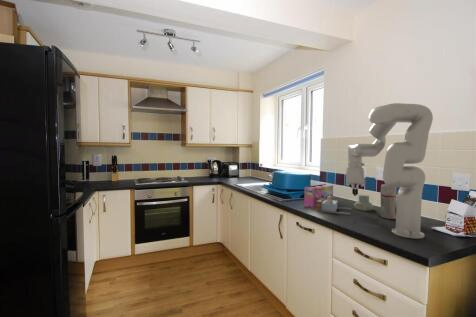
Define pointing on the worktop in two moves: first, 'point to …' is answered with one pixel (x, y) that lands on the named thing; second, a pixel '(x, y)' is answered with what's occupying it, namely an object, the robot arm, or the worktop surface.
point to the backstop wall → (319, 204)
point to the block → (329, 206)
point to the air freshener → (363, 203)
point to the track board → (338, 212)
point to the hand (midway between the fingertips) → (355, 195)
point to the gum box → (316, 194)
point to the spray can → (388, 202)
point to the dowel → (329, 199)
